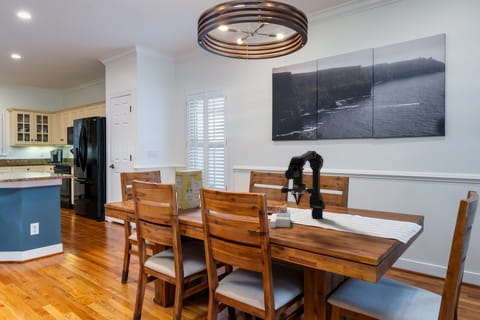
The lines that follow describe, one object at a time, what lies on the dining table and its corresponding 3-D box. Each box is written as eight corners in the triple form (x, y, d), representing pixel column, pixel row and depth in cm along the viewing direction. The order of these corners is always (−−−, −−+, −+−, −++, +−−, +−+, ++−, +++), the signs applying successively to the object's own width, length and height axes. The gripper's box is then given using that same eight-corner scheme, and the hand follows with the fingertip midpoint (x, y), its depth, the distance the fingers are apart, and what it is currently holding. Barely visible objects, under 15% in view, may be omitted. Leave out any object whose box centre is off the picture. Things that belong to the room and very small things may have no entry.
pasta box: (194, 204, 254) (193, 169, 253) (202, 206, 247) (202, 170, 246) (175, 207, 240) (175, 171, 239) (184, 209, 233) (183, 171, 232)
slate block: (290, 220, 197) (290, 213, 197) (289, 223, 190) (289, 216, 189) (277, 220, 199) (277, 212, 199) (276, 222, 191) (276, 215, 191)
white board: (277, 219, 200) (277, 213, 200) (275, 227, 178) (275, 221, 178) (272, 218, 201) (272, 213, 200) (270, 227, 179) (270, 221, 179)
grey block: (289, 224, 188) (289, 216, 188) (289, 227, 180) (289, 219, 180) (276, 223, 189) (276, 216, 189) (275, 226, 181) (275, 219, 181)
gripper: (280, 179, 174) (280, 207, 175) (315, 179, 171) (315, 208, 172) (281, 177, 185) (281, 204, 186) (314, 178, 182) (313, 204, 183)
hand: (297, 205), depth 181 cm, fingers closed
